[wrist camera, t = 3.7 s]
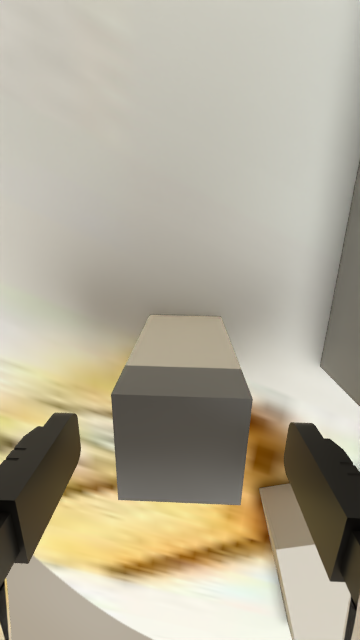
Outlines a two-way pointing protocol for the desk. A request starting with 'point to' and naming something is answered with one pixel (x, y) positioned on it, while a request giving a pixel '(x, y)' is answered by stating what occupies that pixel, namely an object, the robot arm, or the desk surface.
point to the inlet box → (346, 311)
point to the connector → (181, 414)
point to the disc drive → (302, 571)
